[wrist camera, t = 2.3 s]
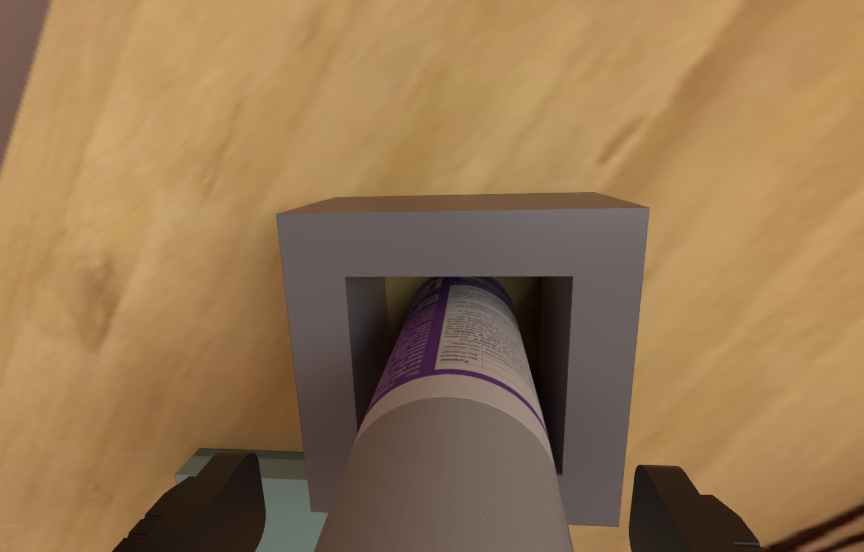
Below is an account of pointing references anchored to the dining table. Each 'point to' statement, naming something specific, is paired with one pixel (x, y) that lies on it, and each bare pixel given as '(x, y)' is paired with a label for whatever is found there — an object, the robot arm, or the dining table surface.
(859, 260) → the dining table surface
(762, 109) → the dining table surface
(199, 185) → the dining table surface
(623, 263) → the bay
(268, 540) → the tray
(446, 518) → the container
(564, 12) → the dining table surface
